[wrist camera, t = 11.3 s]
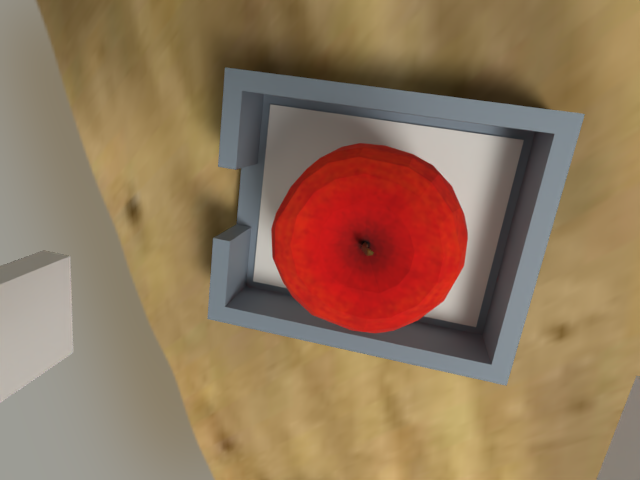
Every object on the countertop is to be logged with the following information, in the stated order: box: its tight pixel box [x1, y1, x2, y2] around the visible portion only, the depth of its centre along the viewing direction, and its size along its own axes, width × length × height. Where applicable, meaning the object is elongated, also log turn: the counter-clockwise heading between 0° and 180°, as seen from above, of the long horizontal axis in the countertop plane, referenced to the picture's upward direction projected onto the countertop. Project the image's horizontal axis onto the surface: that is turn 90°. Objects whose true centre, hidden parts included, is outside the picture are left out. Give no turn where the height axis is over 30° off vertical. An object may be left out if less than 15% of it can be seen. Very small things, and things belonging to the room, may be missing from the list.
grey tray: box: [208, 67, 585, 385], centre depth 26 cm, size 14×17×4 cm
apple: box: [271, 143, 468, 333], centre depth 23 cm, size 9×9×8 cm
